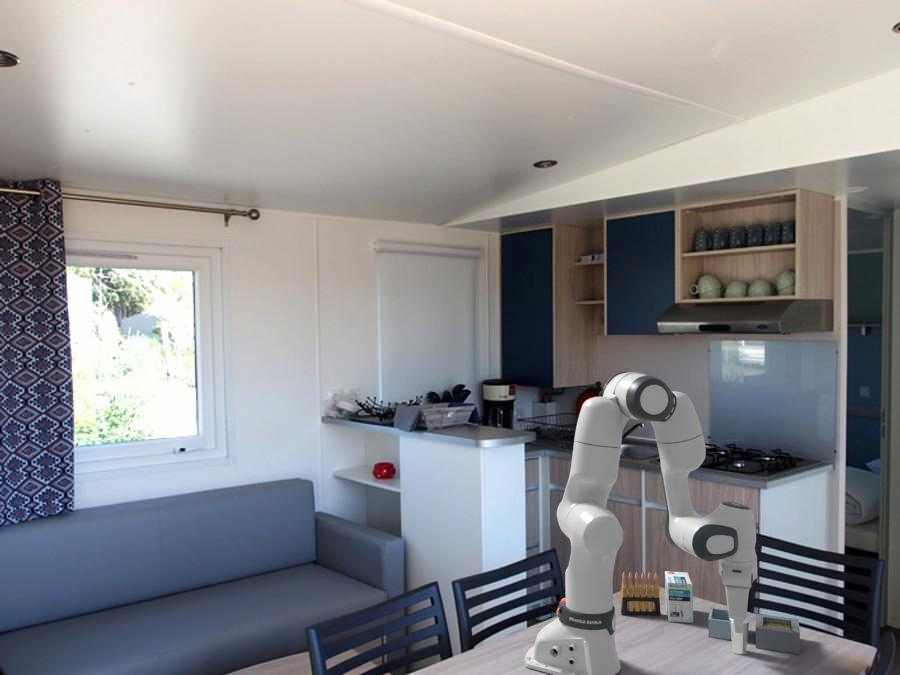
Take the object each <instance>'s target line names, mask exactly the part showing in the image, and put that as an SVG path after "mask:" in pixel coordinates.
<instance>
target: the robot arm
mask: <svg viewBox="0 0 900 675" xmlns="http://www.w3.org/2000/svg"><path fill="white" fill-rule="evenodd" d="M630 419H632V420H637V421H643V422H649V423H650V424H651V427H652V429H653V432H654V433H653V434H654V437H655V438H654V439H655V441H656V446H657V450H658V454H659V460H660V462H659V464H660V477H661V484H662V488H663V497H664V500H665V502H664V503H665V509H666V510H665V511H666V512H665V513H666V515H665V522H664V533H665V536H666V537H665V538H666V539H667V541H668V542H669V544H670V545H672V546H673V547H674V548H676V549H678V550H681V551H684V552H686V553H688V554H690V555H691V556H694V557H696V558H698V559H700V560H701V561H706V562H715V561H718V574H719V576H720V577H721V582H722V585H723V586H724V589H725V597H726V605H727V610H728V612H729V616H730V618H731V619H734V625H735V632H736V633H743V620H745V619H746V616H747V614H748V603H749V592H750V589H751V588H752V585H753V583H754V581H755V580H756V579H757V578H758V556H757V553H756V548H755V547H756V543H757V529H756V528H757V527H756V521H755V515H754V513H753V511H752V509H751V508H750V507H748V506H747V505H744V504H741V503H737V502H731V501H724V502H723V501H722V502H720V503H719V505H718V506H717V508H715V510H713V511H712V512H710V513H709V514H706V515H705V516H701V515H700V514H698V513H697V511H696V510H695V509H694V508H693V505H692V500H691V499H692V498H691V494H690V487H689V474H690V472H693V471H695V470H697V469H699V467H701V465H702V464H703V462H704V461H705V459H706V455H707V454H706V453H707V450H706V449H707V448H706V441H705V436H704V432H703V430H702V425H701V422H700V418H699V416H698V414H697V411H696V409H695V407H694V404H693V402H692V400H691V398H690V397H689V395H688V394H686V393H684V392H682V391H677V390H674V391H673V390H671V389H670V388H669V386H668V385H667V384H666V383H665V382H664V381H663V380H661V378H658V377H657V376H654V375H648V374H645V373H642V372H638V371H637V372H636V371H634V372H633V371H631V372H629V371H621V372H618V373H615V374H613V375H612V376H610V377H609V378H608V380H606V382H605V384H604V386H603V388H602V389H601V391H600V392H599V394H598V396H594V397H589V398H588V399H586V400H585V401H584V402H583V403H582V405H581V409H580V412H579V414H578V418H577V423H576V428H575V433H574V439H573V449H572V454H571V455H572V456H571V463H570V464H571V465H570V472H569V477H568V480H567V482H566V485H565V488H564V492H563V495H562V496H563V497H562V500H561V501H560V502H559V504H558V507H557V510H556V519H557V523H558V525H559V528H560V530H561V531H562V533H563V535H565V536H566V537H567V538H568V539H569V541H570V546H571V547H570V557H569V562H568V565H567V568H566V570H565V573H564V577H565V580H564V581H565V597H563V598H562V599H561V600H560V601H559V605H558V606H557V608H556V609H557V610H556V616H557V618H555V619H554V620H553V621H551V622H549V623H548V624H546V625H545V626H543V627H542V628H541V630H540V631H539V632H538V633H537V636H536V638H535V642H534V645H533V646H531V647H530V648H529V649H528V651H527V652H526V654H525V657H524V665H525V667H526V668H529V669H530V670H531V669H532V670H535V671H538V672H543V673H545V674H549V675H616V674H618V673H619V672H620V671H621V669H622V665H621V662H620V659H619V655H618V651H617V650H618V649H617V645H616V638H615V632H616V625H617V624H616V610H615V609H616V608H615V605H614V604H613V603H614V600H613V598H614V595H613V594H614V592H613V586H614V584H613V582H614V580H613V578H614V577H613V576H614V568H615V564H616V563H615V562H616V558H617V554H618V551H619V549H620V548H621V546H622V544H623V540H624V531H623V530H624V529H623V528H622V526H621V524H620V521H619V520H618V518H617V517H616V515H615V514H614V513H613V512H612V511H611V510H609V509H607V502H608V500H609V497H610V492H611V490H612V488H613V486H614V485H615V484H616V482H617V481H618V477H619V468H620V458H621V450H622V442H623V441H622V440H623V433H624V429H625V426H626V425H627V423H628V422H629V421H630Z"/></svg>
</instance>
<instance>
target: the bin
mask: <svg viewBox="0 0 900 675" xmlns="http://www.w3.org/2000/svg"><path fill="white" fill-rule="evenodd" d="M726 611H727V612H726ZM727 613H728V614H727ZM728 615H729V612H728V609H726V608H725V609H724V608H716V607H710V609H709V615H708V618H707V619H708V621H707V622H708V624H707V625H708V637H709V638H713V639H720V640H728V641H732V639H731V628H730V619H729V618H730V616H728Z"/></svg>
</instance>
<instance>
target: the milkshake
mask: <svg viewBox="0 0 900 675" xmlns="http://www.w3.org/2000/svg"><path fill="white" fill-rule="evenodd" d="M726 612H727V611H726ZM727 614H728V613H727ZM728 616H729V615H728ZM729 619H730V628H731V639H732V640H731V647H732V648H731V650H732V652H733V653H734V654H736V655H746V654H747V653H748V643H749V642H748V641H749V626H750V619H749V617H748V616H747V615H746V619H745V620H743V633H736V632H735V625H734V619H731V618H729Z"/></svg>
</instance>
